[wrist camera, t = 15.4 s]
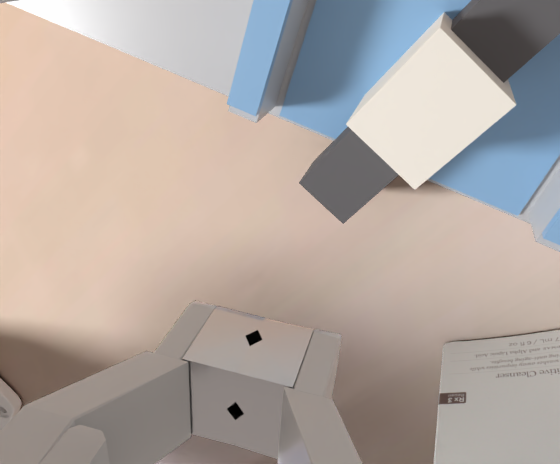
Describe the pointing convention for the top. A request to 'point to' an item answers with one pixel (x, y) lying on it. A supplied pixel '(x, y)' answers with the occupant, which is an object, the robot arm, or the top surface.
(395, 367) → the top surface
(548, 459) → the skincare box
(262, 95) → the slider rail
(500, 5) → the grey post with collar
